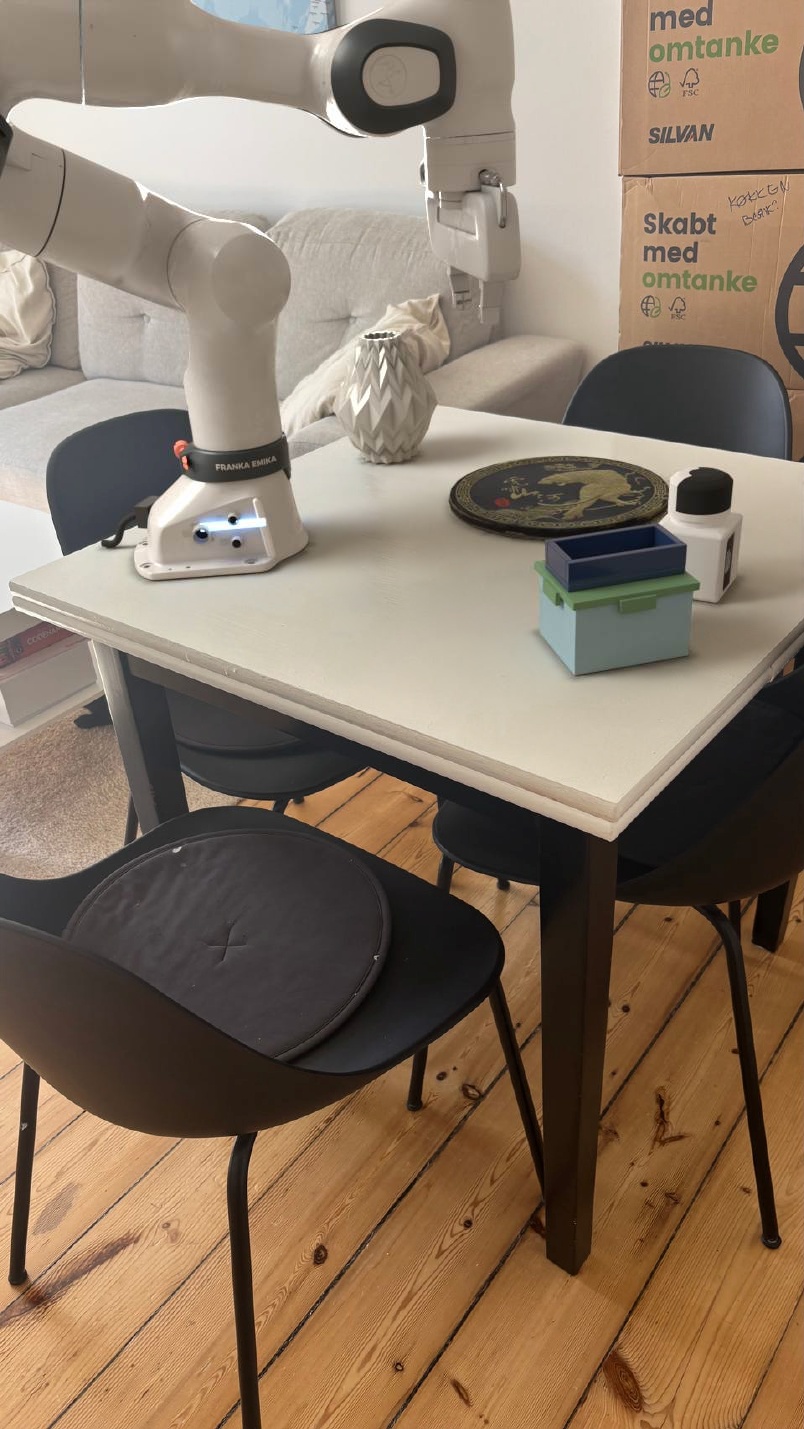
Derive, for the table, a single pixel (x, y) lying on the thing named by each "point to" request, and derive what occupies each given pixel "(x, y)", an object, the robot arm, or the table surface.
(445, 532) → the table surface
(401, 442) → the vase
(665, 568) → the low blue storage tray
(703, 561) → the container
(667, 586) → the box
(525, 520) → the decorative plate
